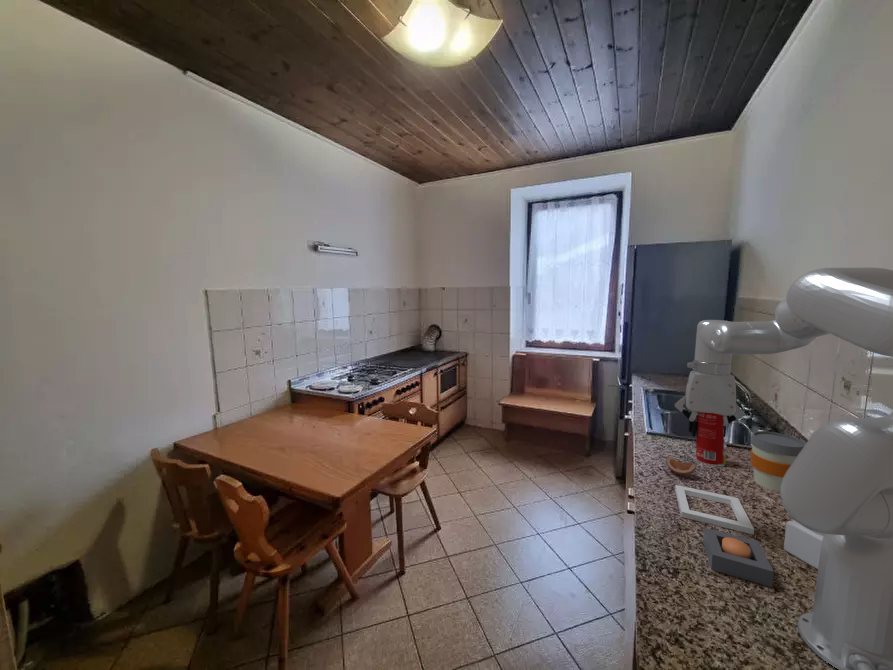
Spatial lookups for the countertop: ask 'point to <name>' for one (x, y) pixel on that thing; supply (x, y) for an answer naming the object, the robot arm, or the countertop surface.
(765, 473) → the reusable coffee cup
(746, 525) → the white picture frame
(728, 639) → the countertop surface
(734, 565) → the grey square holder
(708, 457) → the beverage can
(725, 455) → the supplement bottle
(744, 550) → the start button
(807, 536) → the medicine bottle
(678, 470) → the fruit slice
